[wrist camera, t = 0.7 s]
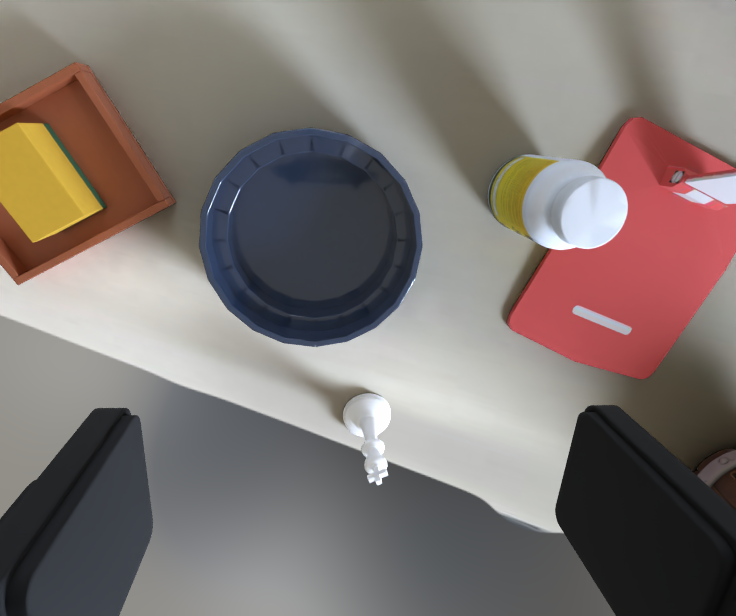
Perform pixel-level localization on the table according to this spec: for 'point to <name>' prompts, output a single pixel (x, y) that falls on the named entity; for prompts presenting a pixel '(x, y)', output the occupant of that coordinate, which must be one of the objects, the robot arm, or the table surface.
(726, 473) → the flowerpot
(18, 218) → the sponge
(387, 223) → the bowl
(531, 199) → the pill bottle
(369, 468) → the chess piece
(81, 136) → the sponge dish
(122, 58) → the table surface
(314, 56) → the table surface
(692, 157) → the desk lamp
